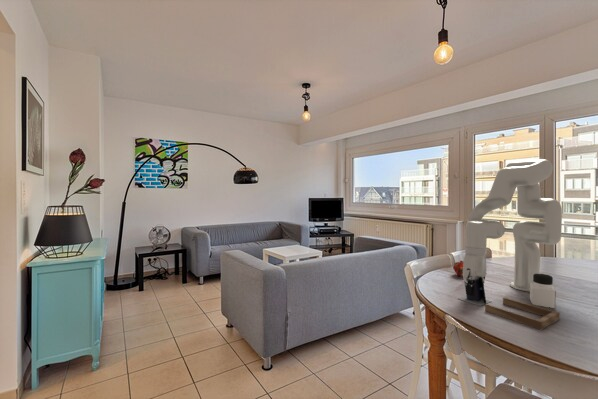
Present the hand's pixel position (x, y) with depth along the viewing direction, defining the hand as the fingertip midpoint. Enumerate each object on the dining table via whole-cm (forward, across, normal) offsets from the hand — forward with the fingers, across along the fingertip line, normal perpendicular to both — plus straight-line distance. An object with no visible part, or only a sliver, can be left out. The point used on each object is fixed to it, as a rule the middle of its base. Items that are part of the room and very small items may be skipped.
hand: (474, 293), depth 122 cm
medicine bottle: (+3, -20, +16) cm, 26 cm away
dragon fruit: (+3, -31, -23) cm, 39 cm away
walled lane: (+3, 0, +16) cm, 16 cm away
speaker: (+3, 0, 0) cm, 3 cm away
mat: (+3, 0, 0) cm, 3 cm away
